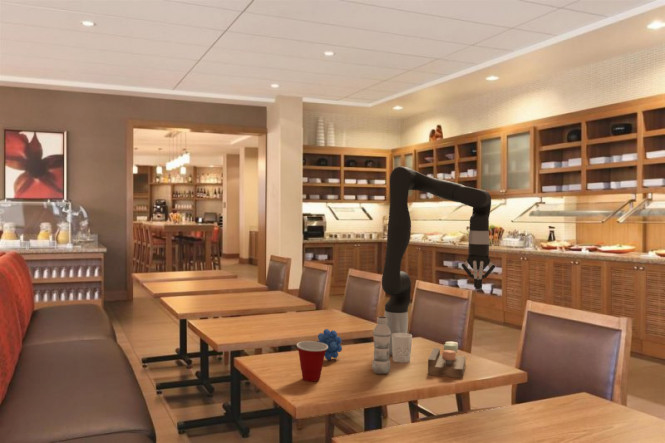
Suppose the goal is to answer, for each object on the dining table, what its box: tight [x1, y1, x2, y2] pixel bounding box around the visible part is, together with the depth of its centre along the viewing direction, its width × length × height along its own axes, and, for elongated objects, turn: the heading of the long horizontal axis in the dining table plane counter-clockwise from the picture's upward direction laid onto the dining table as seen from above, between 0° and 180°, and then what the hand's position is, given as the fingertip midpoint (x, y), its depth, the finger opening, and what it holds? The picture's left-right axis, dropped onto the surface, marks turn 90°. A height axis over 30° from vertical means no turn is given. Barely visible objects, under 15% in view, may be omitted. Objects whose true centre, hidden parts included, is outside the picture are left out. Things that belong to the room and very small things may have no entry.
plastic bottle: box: [371, 315, 391, 375], centre depth 205 cm, size 6×7×20 cm
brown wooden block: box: [427, 347, 466, 379], centre depth 212 cm, size 12×18×5 cm, turn 164°
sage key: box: [443, 344, 458, 354], centre depth 211 cm, size 5×5×4 cm
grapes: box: [316, 328, 343, 361], centre depth 222 cm, size 12×7×12 cm, turn 123°
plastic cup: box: [296, 340, 328, 383], centre depth 197 cm, size 11×11×12 cm
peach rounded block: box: [441, 349, 457, 365], centre depth 206 cm, size 5×5×4 cm
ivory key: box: [444, 341, 459, 351], centre depth 217 cm, size 5×5×4 cm
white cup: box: [392, 332, 413, 364], centre depth 223 cm, size 8×8×10 cm
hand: (477, 288), depth 217 cm, fingers closed
